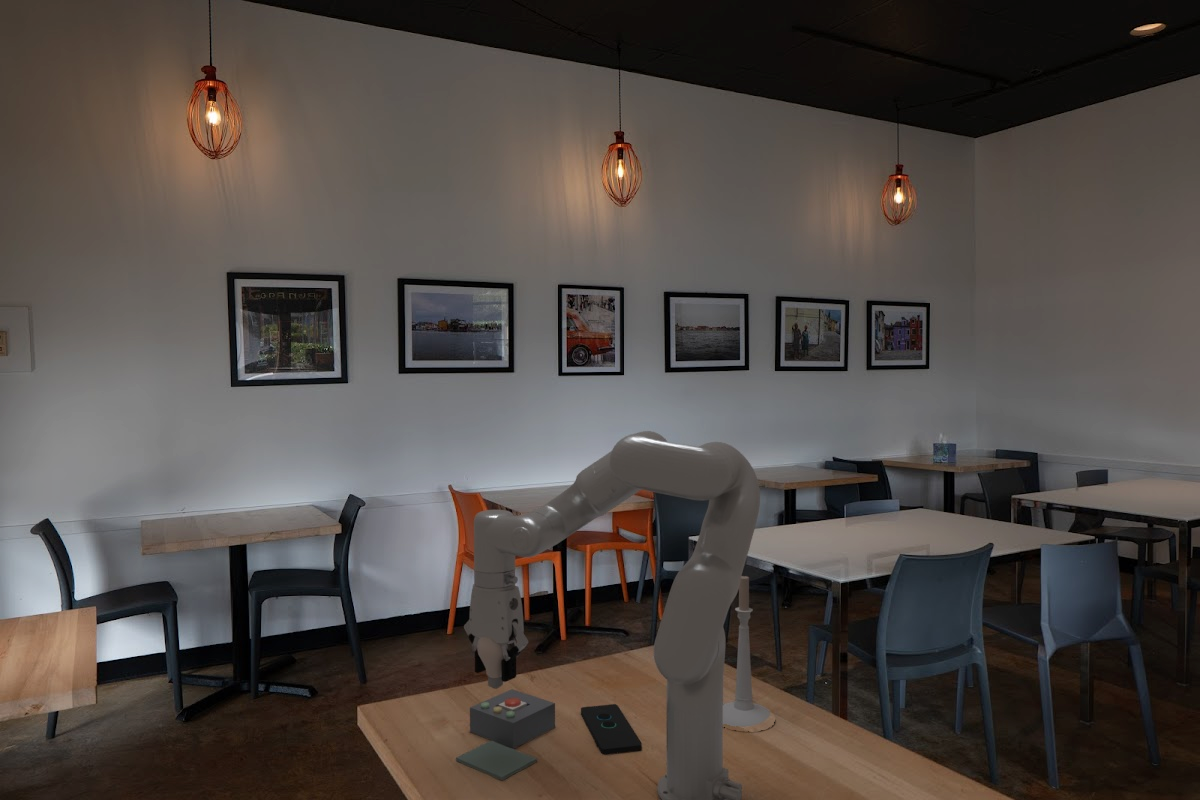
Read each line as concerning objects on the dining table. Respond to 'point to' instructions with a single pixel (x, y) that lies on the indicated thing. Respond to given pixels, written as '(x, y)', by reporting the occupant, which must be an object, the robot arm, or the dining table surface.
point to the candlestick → (744, 672)
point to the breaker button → (512, 704)
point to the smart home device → (610, 729)
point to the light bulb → (491, 660)
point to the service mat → (496, 760)
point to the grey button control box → (512, 719)
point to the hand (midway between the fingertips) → (495, 674)
